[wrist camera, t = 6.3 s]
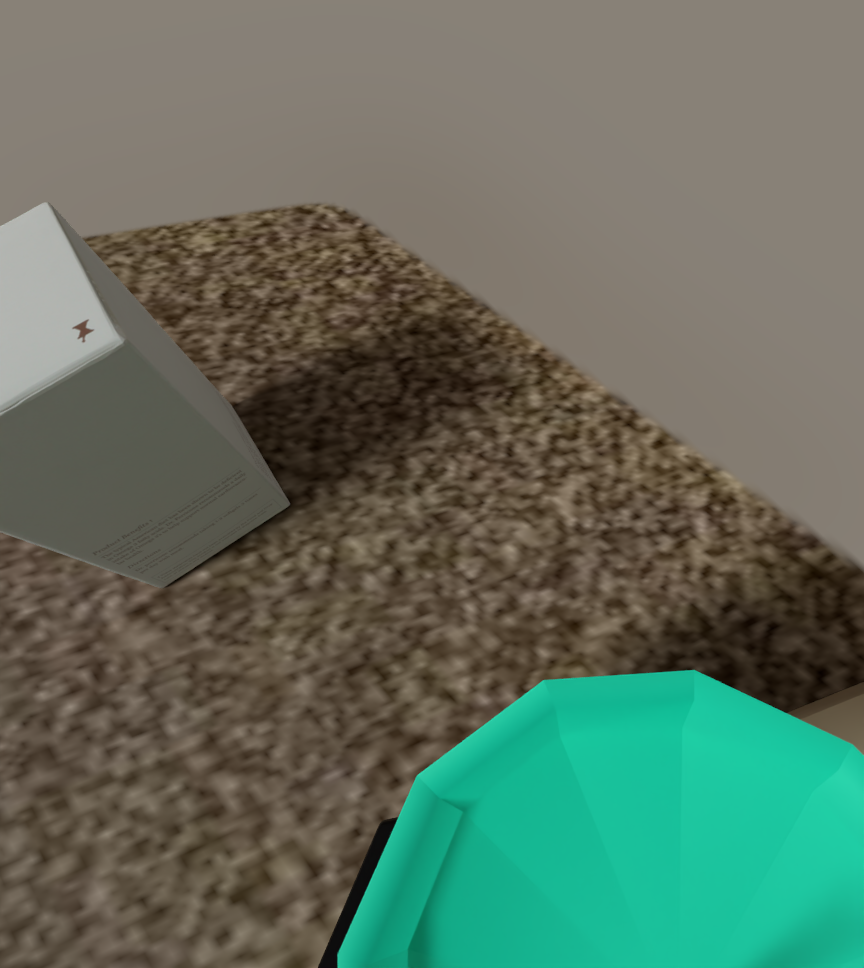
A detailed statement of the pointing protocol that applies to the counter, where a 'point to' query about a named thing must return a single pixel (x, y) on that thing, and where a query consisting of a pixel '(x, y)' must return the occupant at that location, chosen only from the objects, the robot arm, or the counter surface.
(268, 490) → the supplement box
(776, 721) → the candle
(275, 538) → the counter surface
